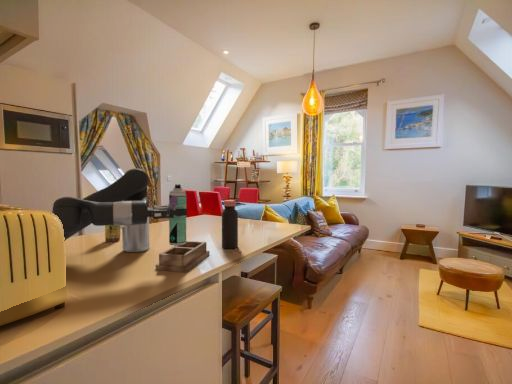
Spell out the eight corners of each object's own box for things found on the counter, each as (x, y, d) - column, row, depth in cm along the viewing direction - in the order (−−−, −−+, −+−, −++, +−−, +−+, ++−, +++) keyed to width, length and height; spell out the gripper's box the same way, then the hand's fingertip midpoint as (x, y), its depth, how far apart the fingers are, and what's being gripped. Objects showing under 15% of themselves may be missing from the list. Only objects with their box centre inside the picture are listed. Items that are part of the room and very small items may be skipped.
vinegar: (235, 249, 109) (235, 201, 108) (219, 248, 110) (219, 201, 109) (239, 245, 116) (239, 200, 114) (224, 244, 117) (224, 199, 116)
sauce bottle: (109, 243, 118) (108, 199, 117) (102, 241, 121) (100, 198, 120) (123, 240, 124) (122, 198, 122) (116, 238, 127) (115, 197, 126)
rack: (155, 269, 86) (155, 254, 86) (183, 252, 104) (183, 240, 104) (186, 272, 84) (186, 256, 83) (209, 254, 102) (209, 241, 102)
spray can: (181, 240, 93) (181, 184, 92) (189, 243, 89) (189, 184, 88) (166, 243, 89) (166, 184, 88) (174, 246, 85) (174, 184, 84)
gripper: (131, 221, 89) (182, 218, 96) (130, 229, 76) (189, 225, 83) (130, 198, 89) (182, 198, 96) (129, 203, 76) (189, 201, 83)
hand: (185, 210), depth 89 cm, fingers closed on spray can, 5 cm apart
